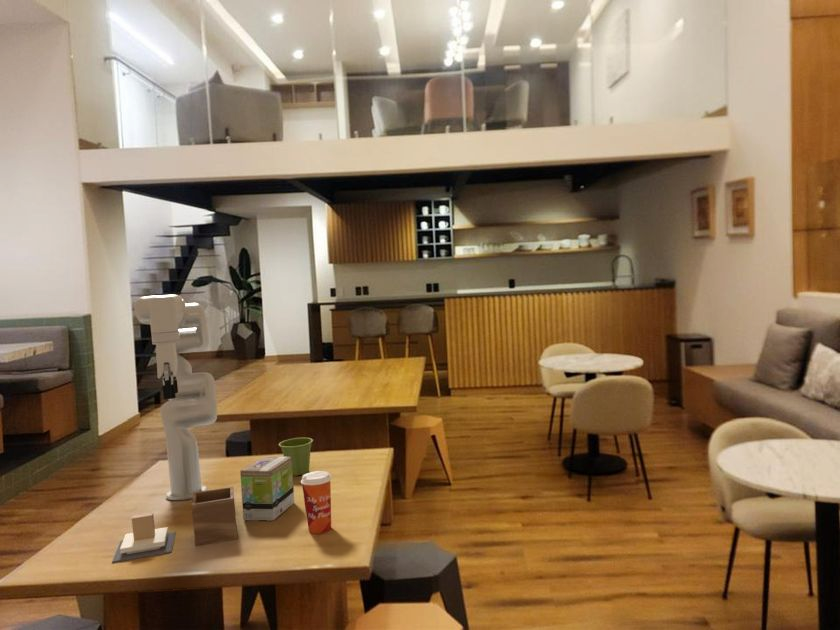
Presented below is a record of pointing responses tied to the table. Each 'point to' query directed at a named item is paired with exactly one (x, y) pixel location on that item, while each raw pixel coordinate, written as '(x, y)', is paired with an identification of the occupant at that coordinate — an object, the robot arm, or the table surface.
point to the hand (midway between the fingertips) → (171, 396)
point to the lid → (143, 535)
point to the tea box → (267, 488)
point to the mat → (162, 550)
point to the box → (214, 516)
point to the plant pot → (298, 454)
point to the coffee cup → (317, 500)
